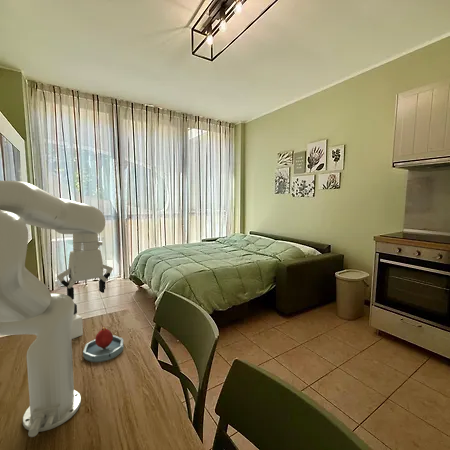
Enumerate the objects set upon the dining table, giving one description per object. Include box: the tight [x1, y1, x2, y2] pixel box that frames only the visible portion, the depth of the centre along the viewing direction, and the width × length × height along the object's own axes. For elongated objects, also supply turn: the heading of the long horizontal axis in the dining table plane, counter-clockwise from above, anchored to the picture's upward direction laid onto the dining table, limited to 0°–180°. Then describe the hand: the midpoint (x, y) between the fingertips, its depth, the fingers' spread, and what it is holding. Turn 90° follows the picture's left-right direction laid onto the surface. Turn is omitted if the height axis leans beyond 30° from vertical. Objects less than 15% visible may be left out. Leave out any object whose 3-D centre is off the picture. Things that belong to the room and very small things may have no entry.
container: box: [71, 303, 84, 340], centre depth 102 cm, size 8×8×13 cm
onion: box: [95, 327, 114, 349], centre depth 93 cm, size 6×6×8 cm
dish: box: [82, 335, 125, 363], centre depth 93 cm, size 13×13×2 cm
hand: (87, 295), depth 88 cm, fingers open, 9 cm apart
